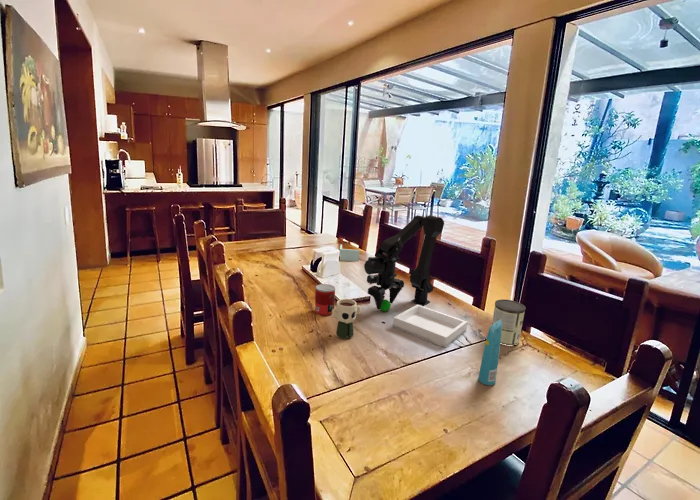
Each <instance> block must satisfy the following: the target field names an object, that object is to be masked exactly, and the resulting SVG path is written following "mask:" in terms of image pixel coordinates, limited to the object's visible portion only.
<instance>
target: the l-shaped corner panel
mask: <svg viewBox="0 0 700 500" xmlns="http://www.w3.org/2000/svg"><path fill="white" fill-rule="evenodd" d="M360 251H361V250H360V249H347V248H343V244H341V243H340V246H339V257H340V260H339V261H340V262H341V261H344V262H345V261H346V262H360Z"/></svg>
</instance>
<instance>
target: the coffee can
mask: <svg viewBox="0 0 700 500" xmlns="http://www.w3.org/2000/svg"><path fill="white" fill-rule="evenodd" d="M525 312H526V306H525V305H524V304H522V303H521V302H518V301H515V300H511V299H502V298H501V299H496V300H495V301H494V309H493V315H492V322H491V325H493V324H494V323H496V322H497V321H499V320H502V332H501V342H500V343H502V344H506V345H515V344H518V343H519V344H520V338H521V334H522V333H521V332H522V327H523V322H524V317H525ZM519 344H518V345H519Z"/></svg>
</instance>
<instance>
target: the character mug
mask: <svg viewBox="0 0 700 500" xmlns="http://www.w3.org/2000/svg"><path fill="white" fill-rule="evenodd" d="M360 313H361V305H359V304H358V305H357V302H356V301H355V300H354V299H349V298H341V299H338V300H337V301H336V308H334V309H332V315H331V318H333V319H334V318H336V320H337V321H338V322H337V327H336V333H335V334H336V336H337V337H338V338H340V339H343V340H344V339H346V340H347V339H348V338H349V339H351V338H354V323H353V322H354V321H355V320H356V317H357V315H360Z"/></svg>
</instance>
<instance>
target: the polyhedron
mask: <svg viewBox="0 0 700 500" xmlns="http://www.w3.org/2000/svg"><path fill="white" fill-rule="evenodd" d="M391 308H392V307H391V303H390V300H388V299H385V298H384V300H383V303H382V305H381V308H380V309H379V310H381V311H382V312H388V311H389V310H390V309H391Z"/></svg>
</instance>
